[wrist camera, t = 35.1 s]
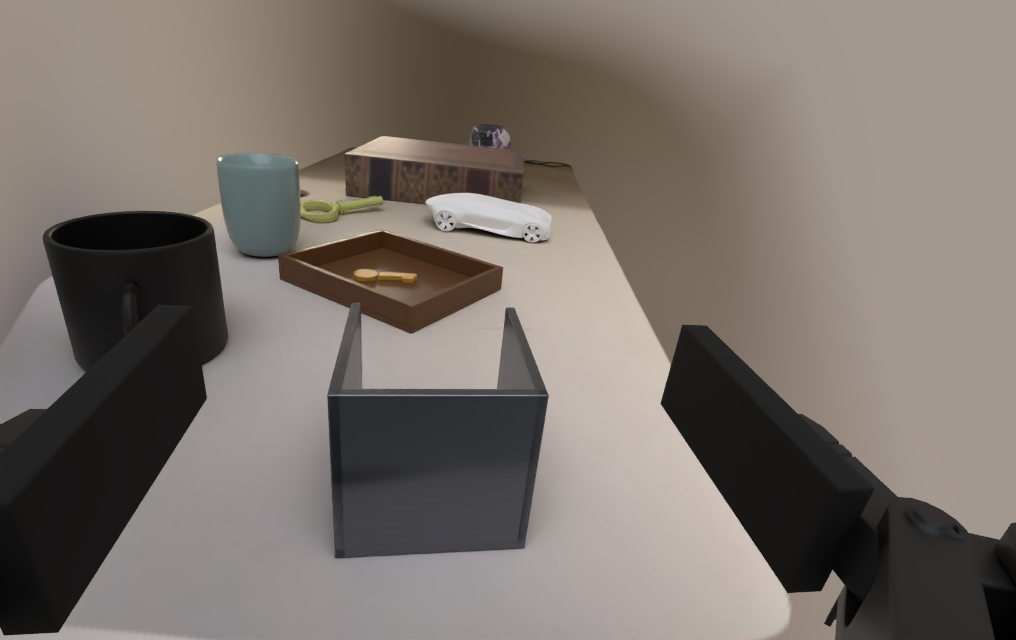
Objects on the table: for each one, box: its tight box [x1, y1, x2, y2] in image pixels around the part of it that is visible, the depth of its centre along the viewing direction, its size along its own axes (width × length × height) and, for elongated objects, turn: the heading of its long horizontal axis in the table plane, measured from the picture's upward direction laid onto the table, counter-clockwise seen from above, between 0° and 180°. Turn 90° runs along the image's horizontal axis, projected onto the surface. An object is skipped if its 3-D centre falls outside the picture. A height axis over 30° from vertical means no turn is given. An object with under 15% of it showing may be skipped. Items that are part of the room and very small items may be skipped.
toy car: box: [425, 193, 552, 243], centre depth 76 cm, size 18×8×4 cm, turn 84°
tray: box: [278, 229, 503, 333], centre depth 55 cm, size 17×14×2 cm
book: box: [345, 136, 523, 204], centre depth 97 cm, size 24×28×7 cm
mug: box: [43, 211, 228, 371], centre depth 37 cm, size 9×12×9 cm
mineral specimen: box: [468, 124, 511, 150], centre depth 122 cm, size 10×10×10 cm
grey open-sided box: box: [327, 303, 549, 558], centre depth 28 cm, size 9×9×9 cm
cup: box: [217, 153, 301, 257], centre depth 58 cm, size 8×8×10 cm
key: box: [300, 196, 383, 223], centre depth 77 cm, size 7×12×2 cm, turn 147°
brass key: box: [354, 269, 417, 283], centre depth 55 cm, size 6×2×1 cm, turn 99°
